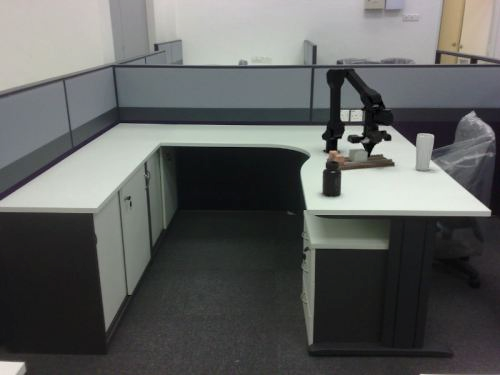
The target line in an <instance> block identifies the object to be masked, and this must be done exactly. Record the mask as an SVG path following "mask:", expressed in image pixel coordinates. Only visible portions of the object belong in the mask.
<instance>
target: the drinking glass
mask: <svg viewBox="0 0 500 375" xmlns="http://www.w3.org/2000/svg"><path fill="white" fill-rule="evenodd" d="M415 141H416V144H415V169H416V171H420V172H426V171H429V168H430V165H431V164H430V163H431V158H432V154H433V149H434V143H435V142H434V141H435V135H434V134H431V133H418V134H417V136H416V140H415Z"/></svg>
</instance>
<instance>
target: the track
mask: <svg viewBox="0 0 500 375" xmlns="http://www.w3.org/2000/svg"><path fill="white" fill-rule="evenodd" d="M327 161H337V162H339V168H338V169H340V170H341V171H350V170H362V169H374V168H385V167H395V161H393V159H392V158H387V157H385V156H384V154H383V153H379V154H371V155H370V157H367V161H358V162H352V161H351V160H349V156H344V155H343V154H341V153H338V152H337V151H329V153H328V158H326V162H327Z"/></svg>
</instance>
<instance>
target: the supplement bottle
mask: <svg viewBox="0 0 500 375" xmlns="http://www.w3.org/2000/svg"><path fill="white" fill-rule="evenodd" d="M338 168H339V162H337V161H327V160H326V162H325V168H324V169H323V171H322V184H321V185H322V186H321V187H322V189H321V190H322V194H323V195H324V196H326V197H338V196H340V194H342V170H340V169H338Z"/></svg>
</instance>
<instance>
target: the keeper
mask: <svg viewBox="0 0 500 375" xmlns="http://www.w3.org/2000/svg"><path fill="white" fill-rule="evenodd" d="M348 151H349V152H348V157H349V160H351V161H352V162H358V161H367V155H368V152H367V151H365V150H364V148H352V149H348Z"/></svg>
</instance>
